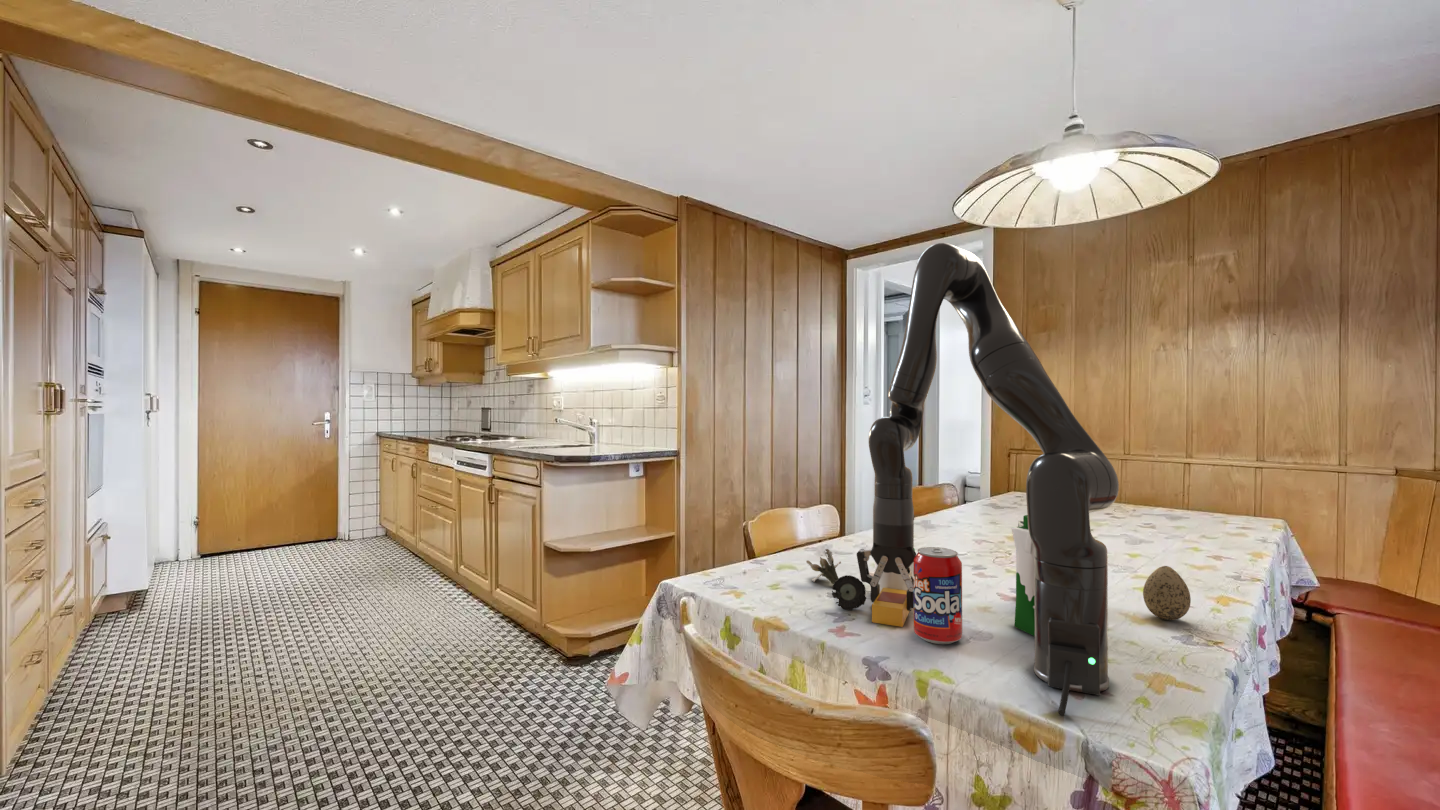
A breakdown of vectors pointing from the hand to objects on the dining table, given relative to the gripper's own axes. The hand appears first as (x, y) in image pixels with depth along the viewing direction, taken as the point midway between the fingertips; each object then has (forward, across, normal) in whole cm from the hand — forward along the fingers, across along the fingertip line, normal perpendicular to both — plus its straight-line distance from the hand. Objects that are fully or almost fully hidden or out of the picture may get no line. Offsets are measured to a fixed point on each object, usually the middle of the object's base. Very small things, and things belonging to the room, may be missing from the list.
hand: (892, 606), depth 115 cm
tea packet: (+1, 0, -1) cm, 1 cm away
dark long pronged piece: (+2, -14, +8) cm, 16 cm away
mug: (+2, -2, +11) cm, 12 cm away
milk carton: (+1, +26, +2) cm, 26 cm away
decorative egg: (+1, +47, +19) cm, 51 cm away
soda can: (+1, +9, -10) cm, 13 cm away
